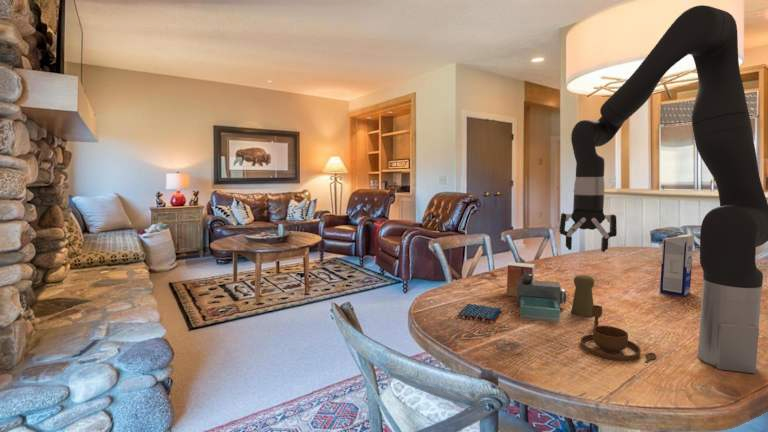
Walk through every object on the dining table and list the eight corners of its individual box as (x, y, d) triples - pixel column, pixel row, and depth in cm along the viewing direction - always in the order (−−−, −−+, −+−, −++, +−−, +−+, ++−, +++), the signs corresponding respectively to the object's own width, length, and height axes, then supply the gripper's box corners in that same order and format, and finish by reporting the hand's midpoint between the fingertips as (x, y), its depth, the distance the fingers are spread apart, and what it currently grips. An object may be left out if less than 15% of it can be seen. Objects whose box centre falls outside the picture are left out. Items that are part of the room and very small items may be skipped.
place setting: (558, 347, 93) (559, 323, 92) (590, 325, 107) (590, 303, 106) (645, 373, 80) (647, 345, 80) (668, 344, 94) (670, 320, 93)
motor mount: (570, 323, 106) (571, 289, 105) (516, 318, 110) (517, 285, 110) (563, 304, 122) (564, 274, 121) (517, 300, 126) (517, 271, 125)
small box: (506, 296, 131) (506, 264, 130) (509, 291, 136) (510, 261, 135) (531, 299, 127) (532, 267, 126) (534, 294, 132) (535, 263, 131)
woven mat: (466, 308, 121) (466, 302, 121) (502, 313, 116) (502, 307, 116) (456, 319, 112) (456, 312, 111) (494, 325, 107) (494, 318, 107)
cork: (597, 317, 111) (599, 278, 109) (574, 316, 112) (575, 278, 111) (590, 310, 116) (592, 273, 115) (568, 309, 118) (570, 272, 117)
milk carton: (684, 296, 128) (688, 235, 126) (659, 292, 133) (663, 233, 131) (690, 292, 133) (694, 233, 131) (666, 288, 138) (669, 231, 136)
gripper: (562, 193, 110) (559, 251, 111) (620, 194, 105) (617, 254, 107) (559, 192, 117) (557, 246, 118) (614, 192, 112) (611, 249, 114)
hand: (586, 250), depth 113 cm, fingers open, 8 cm apart
